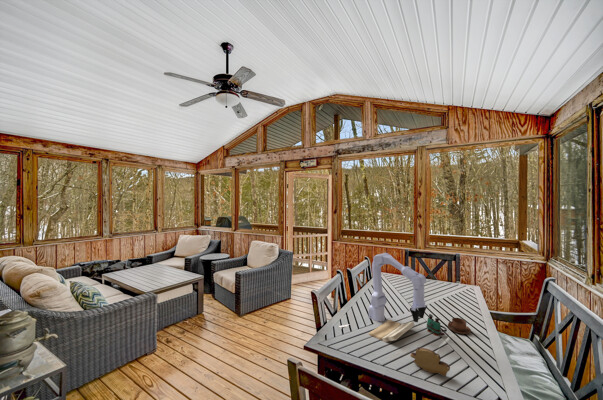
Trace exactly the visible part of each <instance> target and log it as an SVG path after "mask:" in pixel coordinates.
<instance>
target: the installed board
mask: <svg viewBox="0 0 603 400" xmlns="http://www.w3.org/2000/svg"><path fill="white" fill-rule="evenodd" d="M400 325H402V323H399V322H396V321H394V320H391V319H388V320H387V321H385V322H384V323H382V324H381V325H379V326H378V327H376V328H375V329H373V330H371V331H370V332H368V335H369V336H371V337H374V338H376V339H378V340H380V341H381V342H384V341H383V340H382V338H383V337H385V336H386V335H388V334H389V333H390V332H392V331H393V330H395V329H396V328H397V327H399V326H400Z"/></svg>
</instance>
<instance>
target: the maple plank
mask: <svg viewBox="0 0 603 400" xmlns="http://www.w3.org/2000/svg"><path fill="white" fill-rule="evenodd" d="M414 326H415V322H414V321H411V322H410V321H409V322H406V323H401V325H400V326H399V327H397V328H396V329H395V330H393V331H392V332H390V333H389V334H388V335H386V336H385V337H383V338H382V340H383V341H382V340H381V341H382V342H385V343H387V342H392V341H397V340H398V339H399V338H400V337H402V336H403V335H404V334H405V333H406V332H408V331H409V330H411V329H413V328H414Z"/></svg>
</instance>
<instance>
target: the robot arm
mask: <svg viewBox="0 0 603 400" xmlns="http://www.w3.org/2000/svg"><path fill="white" fill-rule="evenodd" d="M372 259H373V261H372V264H371V270H372V273H371V274H372V284H373V292H372V294H371V297H370V305H369V306H368V318H369V319H371V320H373V321H376V322H384V321H385V305H386V304H387V303H388V302H387V298H386V294H385V293H384V292H383V283H382V282H383V281H382V280H383V279H382V278H383V277H382V267H383V266H384V265H391V266H393V268H395V269H397V270H398V271H400V272H401V275H403V276H404V277H405V278H407V279H408V280H409V281H410V282H411V283H412V285H413V286H412V292H413V293H412V294H413V295H412V297H413V298H412V299H413V301H412V306H411V307H410V308H409V312H410V313H411V316H412V319H413V321H412V322H414V323H419V319H420V318H421V319H423V318H424V316H425V312H426V310H427V308H428V305H426V300H425V284H426V282H427V278H426V276H425V275H424V274H422V273H419V272H417V271H415V270H414V269H412V267H410V266H407V265H406V266H405V265H403V264H402V263H400V262H399V261H398V260H397V259H396V258H394V257H393V256H392V255H391V254H390V253H388V252H382V253H379V254H376V255H373V257H372Z"/></svg>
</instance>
